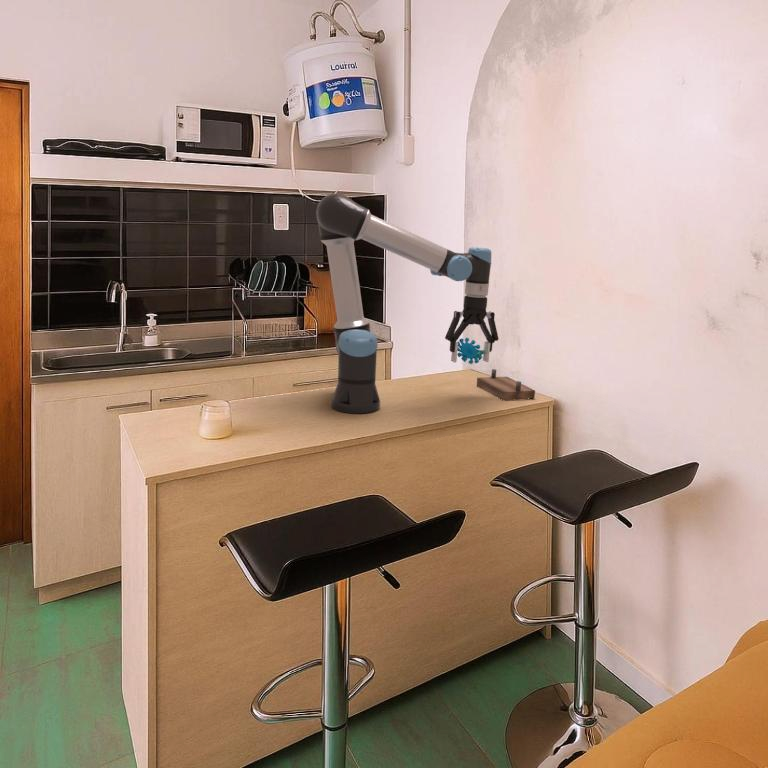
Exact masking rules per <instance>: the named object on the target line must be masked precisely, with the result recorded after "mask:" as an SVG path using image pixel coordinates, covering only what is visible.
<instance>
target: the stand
mask: <svg viewBox="0 0 768 768" xmlns="http://www.w3.org/2000/svg"><path fill="white" fill-rule="evenodd" d="M476 387H479V388H480V389H481V390H484V391H485V392H487V393H488V394H490V393H491V394H490V395H492V396H494V397H495V398H497V397H498V399H499V398H500V399H499V400H501V399H502V400H501V401H503V400H505V401H514V400H513V399H525V400H531V399H530V398H534V399H535V396H536V390H535V389H533V388H531V387H529V386H527V385H525V384H522V382H521V381H519V380H514V379H513V378H511V377H509V376H497V369H496V368H493V369H491V376H485V377H477V378H476ZM528 398H529V399H528Z"/></svg>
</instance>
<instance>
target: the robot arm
mask: <svg viewBox="0 0 768 768" xmlns="http://www.w3.org/2000/svg"><path fill="white" fill-rule="evenodd" d="M315 214H316V216H315V217H316V220H317V225H318V230H319V236H320V242H321V243H323V244H324V245H325V246H326V251H327V258H328V265H329V266H328V267H329V272H330V278H331V285H332V286H331V287H332V292H333V299H334V307H335V312H336V322H335V323H334V325H333V331H334V338H335V350H336V353H337V356H338V364H337V366H338V368H337V374H338V375H337V383H336V387H335V390H334V393H333V395H332V398H331V408H332V409H334V410H335V411H338V412H340V413H341V412H342V413H349V414H368V413H369V414H371V413H374V412H376V411H379V410H380V408H381V398H380V396H379V392H378V388H377V385H376V380H377V379H376V377H377V376H376V375H377V351H378V347H379V346H378V345H379V344H378V338H377V336H376V334H375V333H374V332H372V331H371V327H370V325H371V324H370V321H369V320H368V319H367V318H365V316H364V310H363V303H362V302H363V301H362V295H361V287H360V280H359V274H358V273H359V272H358V264H357V259H356V251H355V250H356V249H355V244H354V243H355V241H358V240H363V241H366V242H368V243H370V244H373V245H375V246H376V247H379V248H381V249H383V250H386V251H388V252H391V253H392V254H395V255H397V256H400V257H402V258H404V259H407V260H408V261H411V262H412V263H415V264H418V265H420V266H422V267H425V268H426V269H429V270H430V274H431V275H432V276H438V277H446V278H449V279H450V280H452V281H455V282H463V281H465V286H464V294H465V296H464V297H463V309H462V311H457V310H454V311H453V316H452V317H453V318H452V320H451V323H450V324H449V327H448V330H447V332H446V335H445V336H444V339H445V340H446V341H449V352H450V353H451V358H450V361H451V362H452V363H457V360H458V355H457V354H458V351H457V350H458V343H457V342H458V341H459V338H460V337H461V336H462V334H463V333H464V331H465V330H466V329H467V327H468V326H469V325H472V326H473V325H479V327H480V329H481V332H482V333H483V335H484V338H485V339H486V341H484V344H483V346H484V347H483V350H485V353H484V354H482V355H483V356H482V361H484V362H485V363H489V361H490V360H489V359H490V353H492V351H493V345H494V343H495V342H496V341H497V342H498V341H499V335H498V330H497V326H496V321H495V315H496V314H495V312H493V311H487V306H488V298H487V296H488V295H489V286H490V276H491V267H492V250H491V249H490V248H489V247H488V248H487V247H474V246H473V247H472V246H471V247H469V248H468V251H467V252H464V253H462V252H461V253H460V252H455V251H453V250H450V249H449V248H446V247H444V246H442V245H439V244H437V243H435V242H432V241H430V240H428V239H426V238H424V237H421V236H419V235H417V234H415V233H412V232H410V231H408V230H406V229H404V228H403V227H399V226H398V225H395V224H393V223H391V222H389V221H386V220H384V219H382V218H379V217H378V216H376V215H373V214H372V213H371V212H370V209H368V208H367V207H364V206H363V205H360V204H359V203H357V202H355V201H354V200H352V199H351V198H350V197H348V196H347V195H345V194H342V193H330V194H327V195H326V196H324V197H322V199H321V200H320V201H319V202H318V204H317V206H316V211H315ZM462 317H463V319H462V320H461V318H462ZM485 318H487V322H488V326H489V328H488V326H487V324H486V322H485V320H484V319H485ZM460 320H461V322H460ZM459 322H460V324H459Z"/></svg>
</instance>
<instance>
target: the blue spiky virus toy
mask: <svg viewBox="0 0 768 768" xmlns="http://www.w3.org/2000/svg"><path fill="white" fill-rule="evenodd" d="M464 341H465V342H464ZM469 341H470V338H469V337H465V338H460V339H458V341H456V342H457V343H458V350H457V358H461V359H460V360H462V361H463V362H464V363H466V362H467V360H468V359H469V361H468V364H470V365H472V364H473V363H474V364H478V363H479V362H480V361H481V360H483V356H482V355H484V353H485V350H484V349H482V350H480V348H481V345H480V344H476V340H474V339H472V340H471V341H470V342H469ZM475 344H476V345H475Z"/></svg>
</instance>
